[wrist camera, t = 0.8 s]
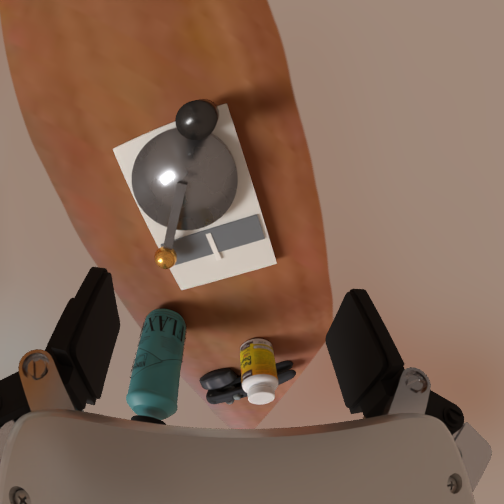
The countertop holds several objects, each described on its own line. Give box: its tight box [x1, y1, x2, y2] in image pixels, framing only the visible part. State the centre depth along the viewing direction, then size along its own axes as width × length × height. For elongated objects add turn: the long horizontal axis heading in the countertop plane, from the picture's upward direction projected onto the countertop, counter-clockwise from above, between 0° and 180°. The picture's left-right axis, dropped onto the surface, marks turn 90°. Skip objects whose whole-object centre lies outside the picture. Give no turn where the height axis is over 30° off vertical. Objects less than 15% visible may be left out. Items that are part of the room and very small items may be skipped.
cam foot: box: [132, 99, 238, 269], centre depth 27 cm, size 19×11×7 cm, turn 161°
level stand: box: [113, 103, 277, 290], centre depth 32 cm, size 20×13×2 cm, turn 16°
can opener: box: [200, 361, 296, 404], centre depth 49 cm, size 18×7×6 cm, turn 107°
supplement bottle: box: [240, 339, 278, 404], centre depth 42 cm, size 6×6×10 cm
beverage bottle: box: [126, 309, 187, 425], centre depth 33 cm, size 6×7×20 cm
